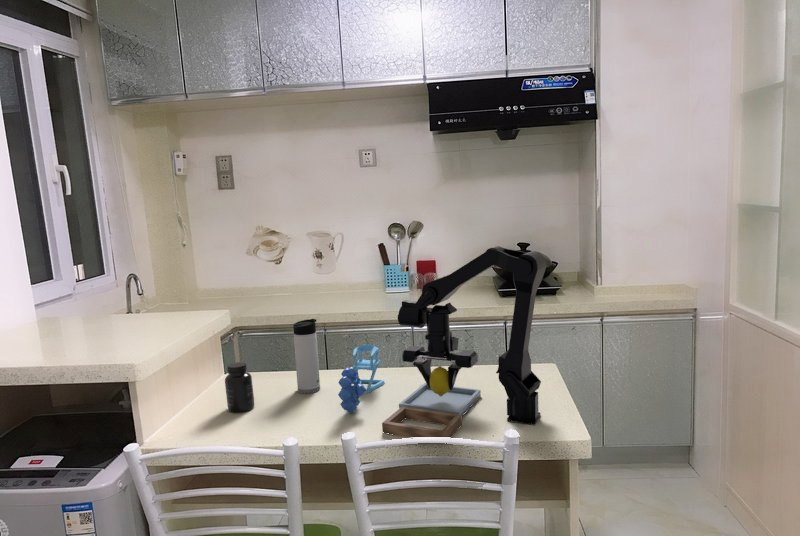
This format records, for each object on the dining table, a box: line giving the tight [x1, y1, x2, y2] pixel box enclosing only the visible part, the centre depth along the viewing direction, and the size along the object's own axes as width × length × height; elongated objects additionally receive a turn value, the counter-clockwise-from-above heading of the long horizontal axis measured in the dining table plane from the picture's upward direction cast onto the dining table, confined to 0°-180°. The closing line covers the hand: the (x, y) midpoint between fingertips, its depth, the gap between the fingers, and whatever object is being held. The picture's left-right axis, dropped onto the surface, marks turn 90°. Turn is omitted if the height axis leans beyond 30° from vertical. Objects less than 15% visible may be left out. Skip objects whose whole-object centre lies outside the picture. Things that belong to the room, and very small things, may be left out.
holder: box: [381, 406, 463, 438], centre depth 129 cm, size 15×10×2 cm
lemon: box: [430, 365, 450, 396], centre depth 143 cm, size 6×6×8 cm
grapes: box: [337, 366, 367, 414], centre depth 140 cm, size 12×7×12 cm, turn 168°
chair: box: [351, 343, 385, 394], centre depth 158 cm, size 8×8×12 cm
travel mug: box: [292, 318, 321, 394], centre depth 158 cm, size 6×7×20 cm
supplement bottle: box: [224, 361, 255, 414], centre depth 146 cm, size 7×7×12 cm
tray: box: [398, 382, 482, 416], centre depth 144 cm, size 16×16×2 cm
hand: (440, 388), depth 144 cm, fingers closed on lemon, 5 cm apart
